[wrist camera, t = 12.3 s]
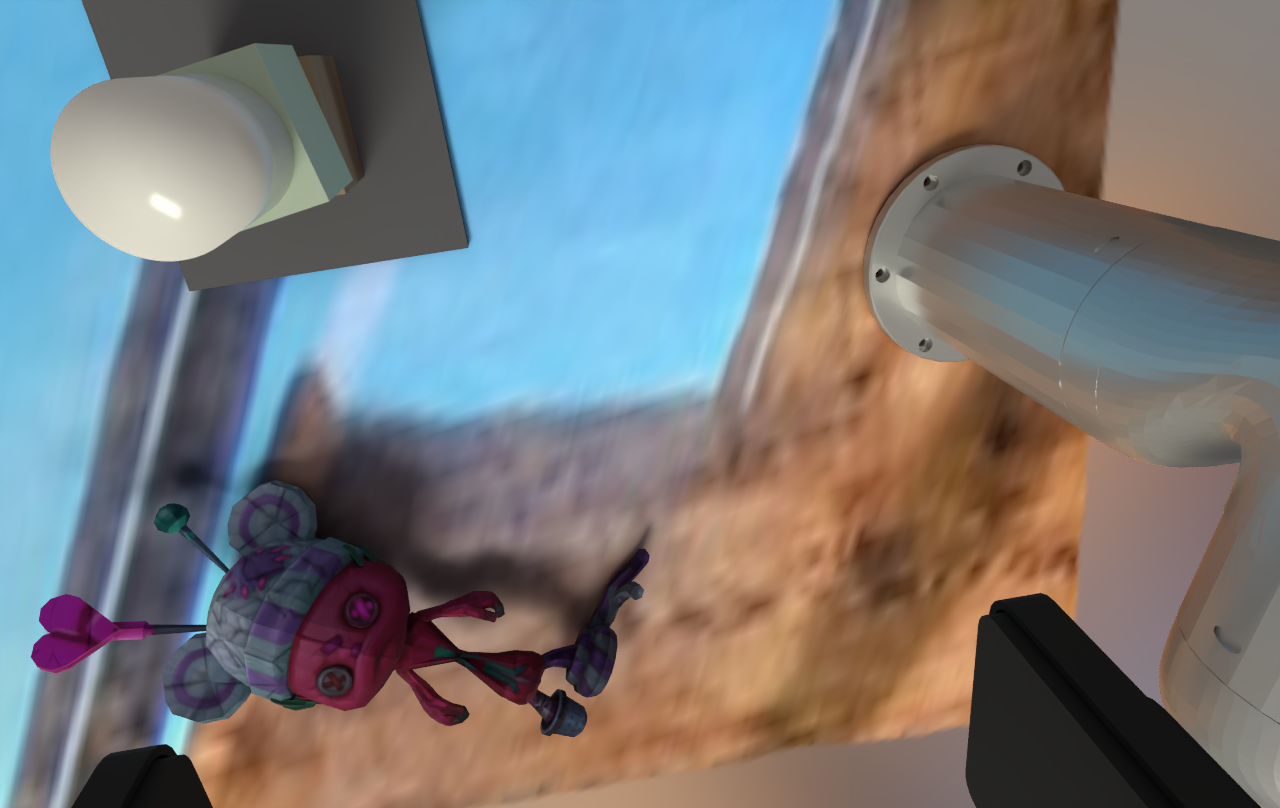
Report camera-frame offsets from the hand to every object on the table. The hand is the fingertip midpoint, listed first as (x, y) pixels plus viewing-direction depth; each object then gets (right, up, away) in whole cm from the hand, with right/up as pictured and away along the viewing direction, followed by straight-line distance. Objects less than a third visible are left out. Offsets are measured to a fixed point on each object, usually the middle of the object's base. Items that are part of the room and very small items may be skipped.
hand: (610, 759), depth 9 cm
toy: (-16, -6, +39) cm, 43 cm away
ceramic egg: (-14, +13, +18) cm, 27 cm away
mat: (-16, +18, +29) cm, 37 cm away
